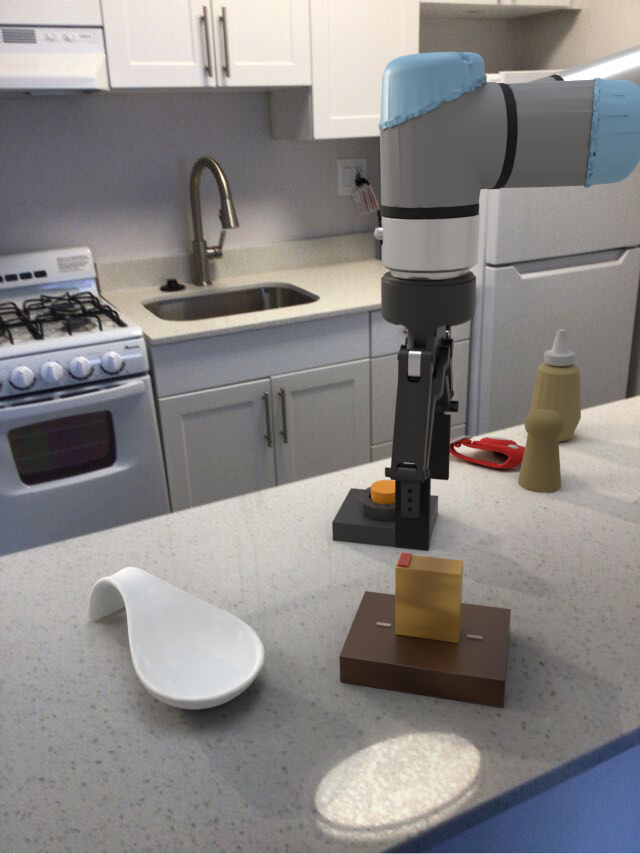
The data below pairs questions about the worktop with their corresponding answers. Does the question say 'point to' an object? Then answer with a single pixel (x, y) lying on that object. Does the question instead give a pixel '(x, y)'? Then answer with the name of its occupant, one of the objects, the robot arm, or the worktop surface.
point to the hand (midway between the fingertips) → (424, 509)
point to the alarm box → (370, 519)
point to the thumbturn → (428, 597)
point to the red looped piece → (490, 444)
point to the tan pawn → (541, 452)
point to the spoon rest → (180, 640)
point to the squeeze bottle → (559, 385)
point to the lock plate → (428, 654)
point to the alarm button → (383, 492)
